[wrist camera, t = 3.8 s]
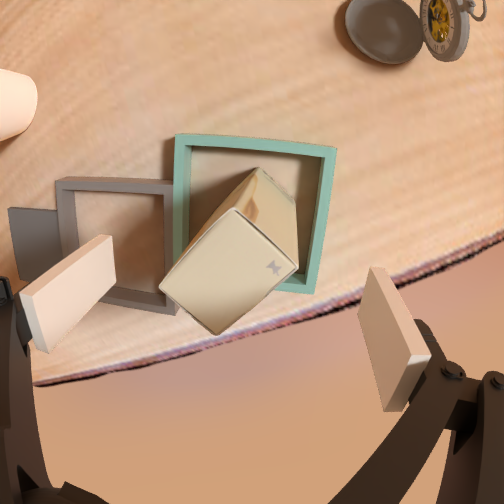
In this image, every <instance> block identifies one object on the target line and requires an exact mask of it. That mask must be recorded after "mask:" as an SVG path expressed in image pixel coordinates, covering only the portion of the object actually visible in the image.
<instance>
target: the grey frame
mask: <svg viewBox="0 0 504 504" xmlns="http://www.w3.org/2000/svg"><path fill="white" fill-rule="evenodd" d="M173 181H174V180H159V179H139V178H113V177H65V178H62V179H59V180H56V181H55V184H56V199H57V211H58V221H59V230H60V238H61V245H62V252H63V259H65V258H66V257H67V256H69V255H70V254H72V253H73V252H75V251H76V250H77V249H79V241H78V232H77V221H76V210H75V195H74V190H92V191H113V192H131V193H147V194H162V195H164V263H165V276H166V275H167V273H168V272H169V271H170V269H171V268H172V267H173ZM98 302H103V303H108V304H113V305H118V306H123V307H128V308H134V309H139V310H145V311H150V312H156V313H161V314H167V315H173V316H175V315H176V313H177V311H178V310H179V308H180V307H179V306H178V305H177V304H176V303H175V302H174V301H173V300H172V299H171V298H169V297H168V296H167V295H160V294H154V293H148V292H142V291H136V290H130V289H124V288H119V287H113V286H112V287H111V288H110V289H109V290H108V291H107V292H106V293H105V294H104V295H103V296H102V297H101V298H100V299H99V300H98Z"/></svg>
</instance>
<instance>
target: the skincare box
mask: <svg viewBox="0 0 504 504" xmlns="http://www.w3.org/2000/svg"><path fill="white" fill-rule="evenodd" d="M298 268H299V260H298V240H297V221H296V204H295V201H294V200H293V198H292V197H291V196H290V195H289V194H288V193H287V192H286V191H285V190H284V189H283V188H282V187H281V186H280V185H279V184H278V183H277V182H276V181H275V180H274V179H273V178H272V177H271V176H270V175H268V174H267V173H266V172H265V171H264V170H263V169H262V168H260V167H257V168H256V169H255V170H254V171H253V172H252V173H251V174H250V175H248V176H247V177H246V178H245V179H244V180H243V181H242V182H241V183H240V184H239V185H238V186H237V187H236V188H235V189H234V190H233V191H232V192H231V193H230V195H229V196H228V197H227V198H226V199H225V200H224V201H223V202H222V203H221V205H220V206H219V207H218V208H217V209H216V210H215V212H214V213H213V214H212V215H211V216H210V217H209V219H208V220H207V221H206V222H205V224H204V225H203V226H202V228H201V229H200V231H199V232H198V233H197V234H196V236H195V237H194V238H193V240H192V241H191V242H190V244H189V245H188V246H187V248H186V249H185V250H184V252H183V253H182V254H181V256H180V257H179V258H178V260H177V261H176V263H175V264H174V265H173V267H172V268H171V269H170V271H169V272H168V273H167V275H166V276H165V277H164V279H163V280H162V282H161V283H160V284H159V288H160V289H161V290H162V291H163V292H164V293H165V294H166V295H167V296H168V297H169V298H171V299H172V300H173V301H174V302H175V303H176V304H177V305H178V306H179V307H181V308H182V309H183V310H184V311H185V312H186V313H187V314H189V315H190V316H191V317H192V318H193V319H194V320H196V321H197V322H198V323H199V324H200V325H202V326H203V327H204V328H205V329H206V330H208V331H209V332H210V333H211V334H213V335H215V336H217V335H220V334H221V333H222V332H224V331H225V330H226V329H228V328H229V327H230V326H231V325H233V324H234V323H235V322H236V321H237V320H239V319H240V318H241V317H242V316H243V315H245V314H246V313H247V312H249V311H250V310H251V309H252V308H254V307H255V306H256V305H257V304H258V303H259V302H260V301H262V300H263V299H264V298H265V297H266V296H267V295H268V294H270V293H271V292H272V291H273V290H274V289H276V288H277V287H278V286H279V285H280V284H281V283H282V282H284V281H285V280H286V279H287V278H288V277H289V276H290V275H292V274H293V273H294V272H295V271H297V269H298Z"/></svg>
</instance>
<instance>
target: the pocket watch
mask: <svg viewBox="0 0 504 504" xmlns="http://www.w3.org/2000/svg"><path fill="white" fill-rule="evenodd" d="M482 1H483V14H482V15H481V17H476V16H475V15H474V14H473V11H474V7H475V6H476V4H475V2H474V1H473V0H421V2H420V18H418V16H417V15H416V13H415V12H414V11H413V10H412V8H411V7H410V6H409V5H408V4H406V3H405V2H404V1H402V0H352V1H351V3H350V4H349V6H348V8H347V10H346V12H345V26H346V29H347V32H348V35H349V37H350V38H351V40H352V42H353V43H354V44H355V45H356V46H357V47H358V49H359V50H360V51H361V52H363V53H364V54H366V55H367V56H368V57H370V58H372V59H374V60H376V61H379V62H383V63H388V64H399V63H403V62H406V61H409V60H411V59H412V58H414V57H415V56H416V55H417V53H418V52H419V51H420V49H421V47H422V44H423V41H424V42H425V43H426V46H427V47H428V50H429V51H430V53H431V54H432V55H433V57H435V58H436V59H437V60H439V61H443V62H450V61H451V62H452V61H455V60H457V59H459V58H460V57H461V56H462V54H463V53H464V51H465V49H466V47H467V43H468V39H469V30H470V24H469V15H468V13H469V14H470V15H471V16H472V18H474V19H475V20H476V21H483V19H484V18H485V17H486V12H487V6H486V2H485V0H482ZM441 17H442V18H441ZM447 25H448V26H449V27H447ZM446 27H447V28H446ZM439 29H440V31H439ZM448 29H449V30H448ZM445 32H446V33H447V35H446V33H445ZM441 33H443V38H442V37H441V35H442V34H441ZM445 36H446V39H445Z"/></svg>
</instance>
